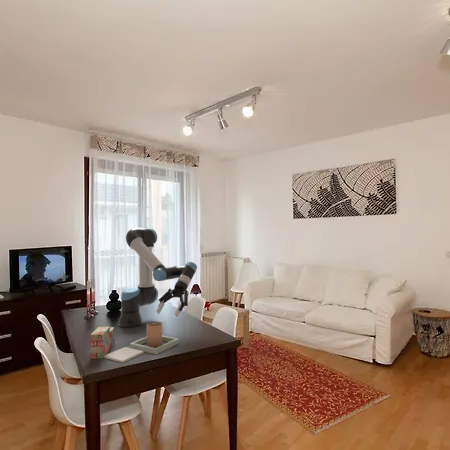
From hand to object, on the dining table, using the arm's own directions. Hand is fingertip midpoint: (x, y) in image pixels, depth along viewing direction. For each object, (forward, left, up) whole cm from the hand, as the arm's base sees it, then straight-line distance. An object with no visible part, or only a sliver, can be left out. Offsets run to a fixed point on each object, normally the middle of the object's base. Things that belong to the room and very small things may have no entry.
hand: (166, 314), depth 188 cm
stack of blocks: (-19, -29, -15) cm, 38 cm away
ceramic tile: (-4, -28, -15) cm, 32 cm away
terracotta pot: (0, -10, -15) cm, 18 cm away
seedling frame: (0, -10, -15) cm, 18 cm away
